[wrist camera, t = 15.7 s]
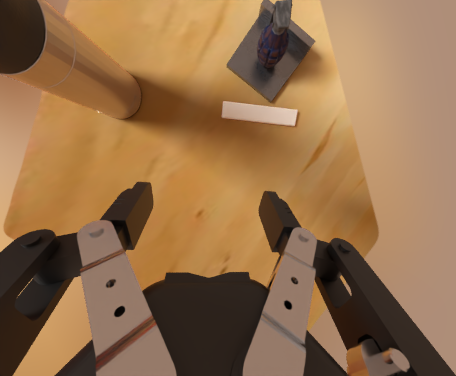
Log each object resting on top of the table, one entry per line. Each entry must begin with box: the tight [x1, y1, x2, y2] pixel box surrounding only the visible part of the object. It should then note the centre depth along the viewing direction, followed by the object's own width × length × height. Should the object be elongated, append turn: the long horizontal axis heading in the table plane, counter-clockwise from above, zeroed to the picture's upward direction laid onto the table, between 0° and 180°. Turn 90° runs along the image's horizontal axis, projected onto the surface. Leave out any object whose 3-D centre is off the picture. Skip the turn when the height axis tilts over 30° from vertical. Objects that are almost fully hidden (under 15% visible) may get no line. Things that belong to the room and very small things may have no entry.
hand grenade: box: [257, 0, 292, 68], centre depth 26 cm, size 6×5×10 cm
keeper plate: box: [227, 0, 315, 103], centre depth 30 cm, size 11×11×3 cm
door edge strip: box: [222, 101, 298, 126], centre depth 33 cm, size 15×3×1 cm, turn 83°
